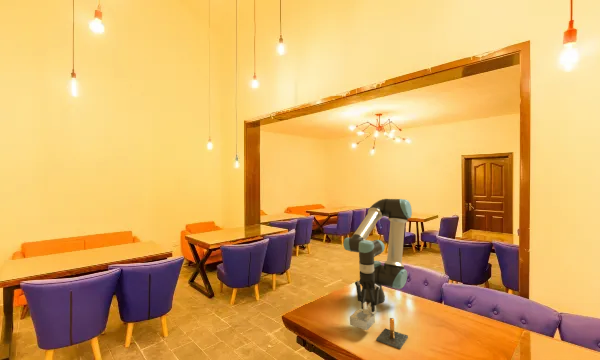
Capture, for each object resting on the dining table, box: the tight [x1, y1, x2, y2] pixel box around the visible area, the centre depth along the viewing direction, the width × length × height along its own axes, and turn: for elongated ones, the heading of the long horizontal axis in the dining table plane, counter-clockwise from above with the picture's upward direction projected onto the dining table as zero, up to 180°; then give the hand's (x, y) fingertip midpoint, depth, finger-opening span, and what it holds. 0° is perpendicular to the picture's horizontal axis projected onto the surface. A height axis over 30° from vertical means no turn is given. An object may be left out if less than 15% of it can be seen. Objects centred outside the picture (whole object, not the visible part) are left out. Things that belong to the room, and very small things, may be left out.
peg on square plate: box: [375, 317, 409, 350], centre depth 128 cm, size 11×11×10 cm
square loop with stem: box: [349, 302, 377, 331], centre depth 138 cm, size 18×9×5 cm, turn 141°
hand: (368, 316), depth 140 cm, fingers closed on square loop with stem, 3 cm apart
